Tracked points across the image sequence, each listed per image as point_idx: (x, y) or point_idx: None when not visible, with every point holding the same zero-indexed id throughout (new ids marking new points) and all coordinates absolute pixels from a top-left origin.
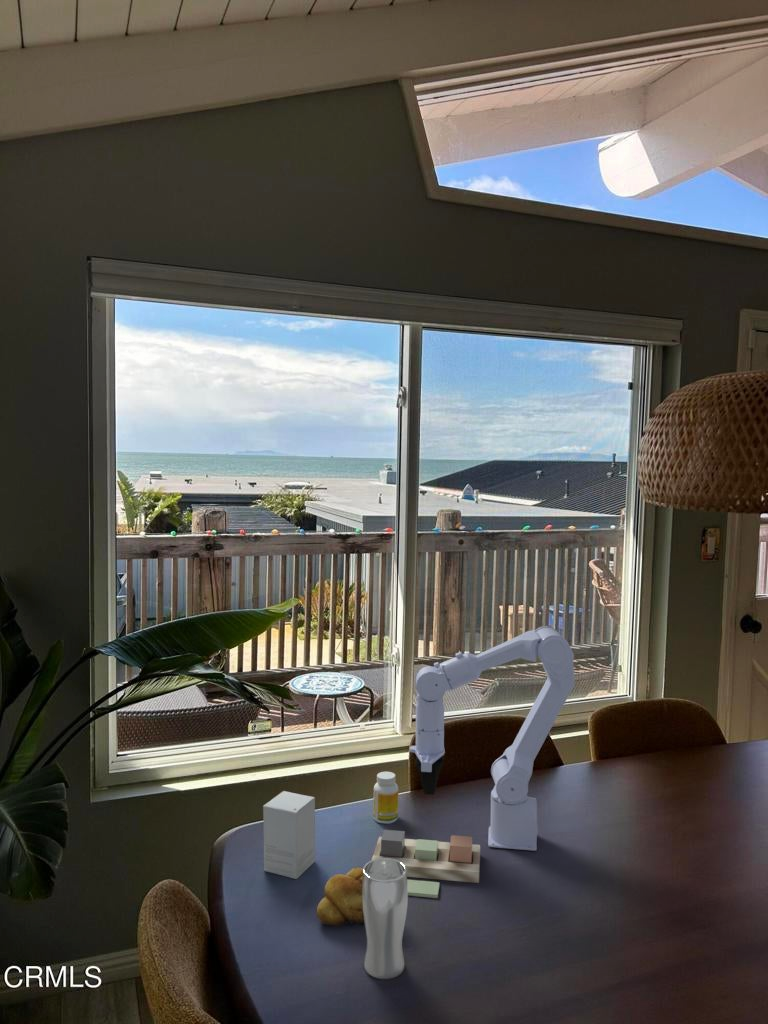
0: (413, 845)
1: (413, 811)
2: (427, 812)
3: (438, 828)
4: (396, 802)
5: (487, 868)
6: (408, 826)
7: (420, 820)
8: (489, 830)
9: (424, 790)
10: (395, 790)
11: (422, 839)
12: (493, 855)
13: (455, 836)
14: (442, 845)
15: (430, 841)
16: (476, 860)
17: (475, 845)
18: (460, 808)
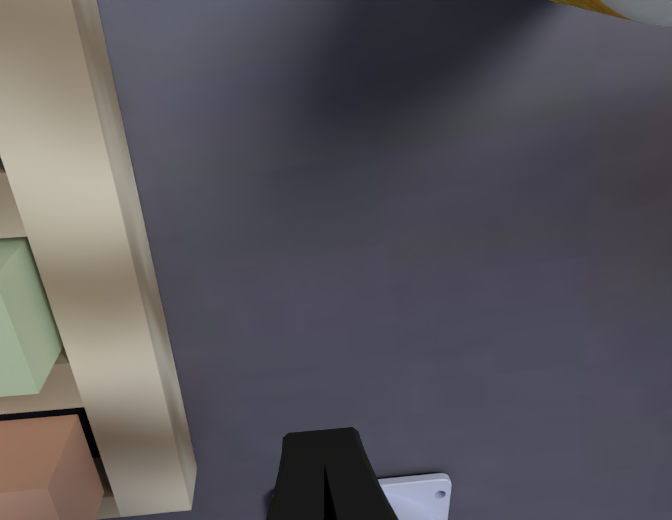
0: (34, 218)
1: (655, 89)
2: (633, 181)
3: (429, 271)
4: (566, 2)
5: None
6: (435, 92)
7: (524, 156)
8: (409, 485)
9: (281, 470)
10: (623, 6)
11: (6, 308)
12: (213, 506)
13: (42, 507)
14: (114, 369)
15: (3, 357)
16: None
17: (177, 495)
18: (666, 339)
